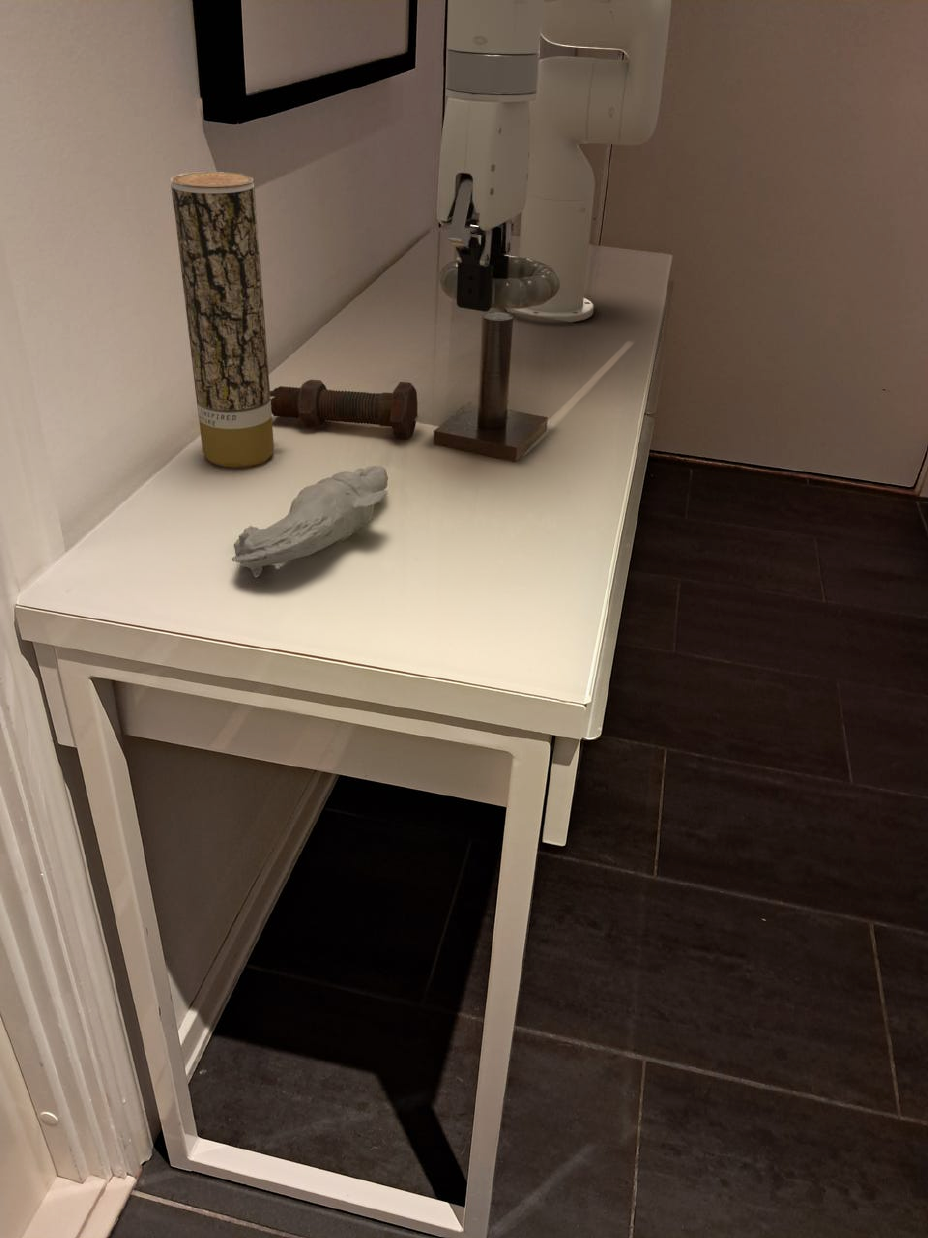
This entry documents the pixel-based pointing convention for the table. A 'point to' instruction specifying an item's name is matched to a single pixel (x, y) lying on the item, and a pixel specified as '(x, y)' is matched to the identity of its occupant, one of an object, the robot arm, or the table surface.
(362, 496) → the grey figurine
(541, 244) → the robot arm
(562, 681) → the table surface
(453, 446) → the post
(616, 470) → the table surface
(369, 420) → the bolt
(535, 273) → the bracelet
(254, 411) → the paper tube
